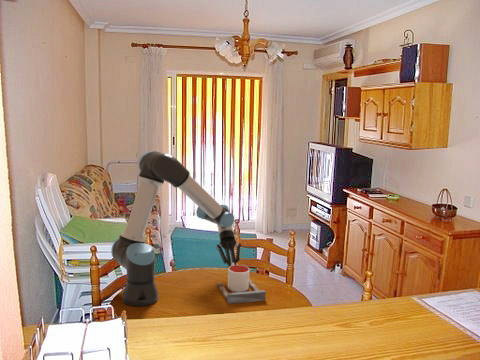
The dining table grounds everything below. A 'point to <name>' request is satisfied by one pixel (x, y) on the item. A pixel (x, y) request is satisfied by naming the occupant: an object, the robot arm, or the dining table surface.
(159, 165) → the robot arm
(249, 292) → the grey tray
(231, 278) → the cup
